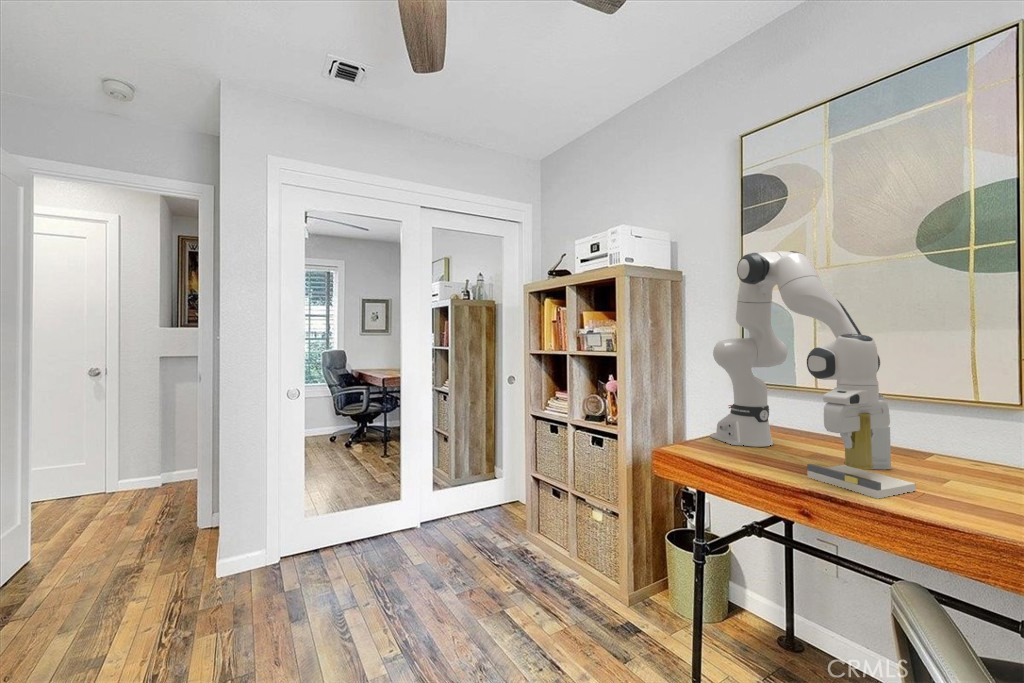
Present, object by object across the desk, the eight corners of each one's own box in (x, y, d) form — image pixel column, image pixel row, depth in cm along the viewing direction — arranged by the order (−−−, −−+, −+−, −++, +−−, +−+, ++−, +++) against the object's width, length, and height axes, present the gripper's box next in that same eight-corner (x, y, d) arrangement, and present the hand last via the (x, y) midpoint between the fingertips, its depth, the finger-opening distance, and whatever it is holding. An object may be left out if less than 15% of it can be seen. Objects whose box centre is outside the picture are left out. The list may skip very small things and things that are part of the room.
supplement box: (892, 470, 131) (891, 426, 130) (863, 469, 132) (862, 426, 132) (876, 463, 138) (876, 422, 138) (849, 462, 139) (849, 421, 139)
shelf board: (806, 477, 125) (806, 464, 125) (842, 471, 130) (842, 458, 130) (876, 499, 108) (876, 483, 108) (915, 491, 113) (915, 476, 113)
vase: (871, 464, 120) (870, 411, 120) (875, 470, 115) (874, 415, 115) (843, 461, 123) (842, 410, 123) (845, 467, 118) (844, 413, 118)
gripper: (871, 391, 125) (872, 440, 125) (818, 395, 119) (819, 447, 119) (897, 393, 119) (897, 445, 119) (842, 398, 113) (843, 453, 113)
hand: (858, 446), depth 119 cm, fingers closed on vase, 5 cm apart
